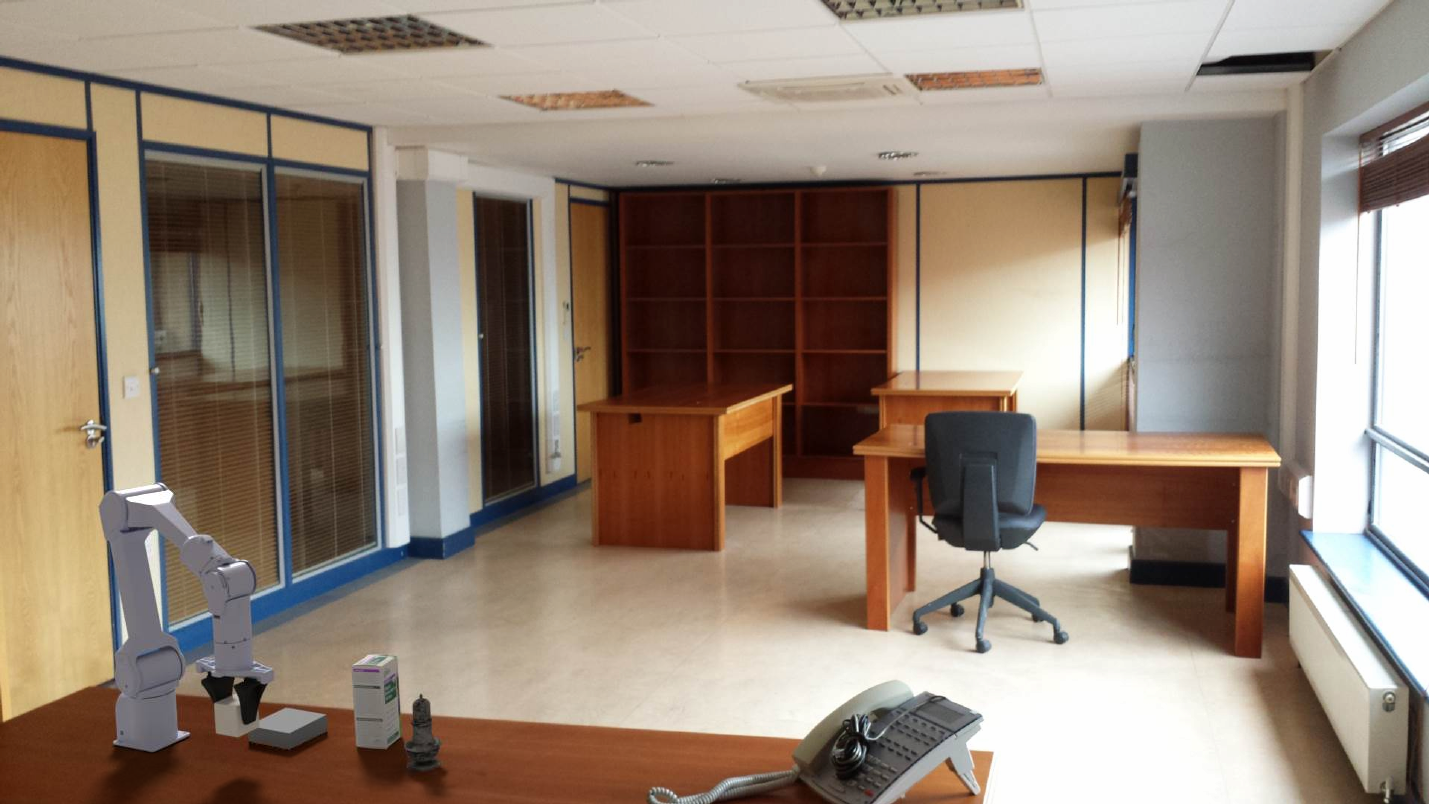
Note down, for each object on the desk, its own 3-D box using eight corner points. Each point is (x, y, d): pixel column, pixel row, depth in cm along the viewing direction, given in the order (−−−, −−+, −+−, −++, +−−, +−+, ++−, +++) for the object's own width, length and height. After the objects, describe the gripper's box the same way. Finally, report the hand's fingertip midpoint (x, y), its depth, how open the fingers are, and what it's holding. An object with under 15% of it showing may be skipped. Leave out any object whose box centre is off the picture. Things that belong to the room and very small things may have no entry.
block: (248, 742, 201) (247, 725, 201) (286, 724, 210) (286, 707, 209) (290, 750, 198) (289, 733, 198) (327, 731, 206) (326, 714, 206)
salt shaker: (449, 760, 193) (446, 689, 192) (429, 774, 188) (426, 701, 186) (418, 755, 195) (415, 685, 194) (397, 770, 190) (394, 697, 188)
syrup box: (386, 749, 198) (383, 665, 196) (354, 747, 199) (350, 663, 197) (402, 736, 203) (399, 654, 202) (370, 734, 205) (367, 653, 203)
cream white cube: (215, 733, 189) (214, 703, 189) (237, 723, 193) (236, 693, 193) (237, 737, 187) (236, 706, 187) (259, 727, 192) (257, 697, 191)
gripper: (178, 640, 188) (183, 722, 189) (248, 651, 182) (253, 736, 184) (213, 627, 194) (217, 707, 196) (282, 638, 189) (286, 720, 190)
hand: (237, 720), depth 190 cm, fingers closed on cream white cube, 5 cm apart
